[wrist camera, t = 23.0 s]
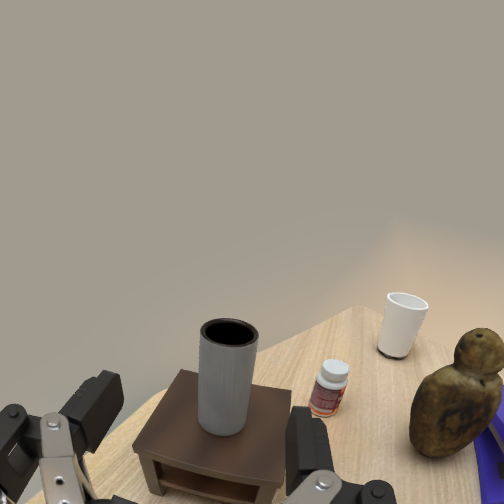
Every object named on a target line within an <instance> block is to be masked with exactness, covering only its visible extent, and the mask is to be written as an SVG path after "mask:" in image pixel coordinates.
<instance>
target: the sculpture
mask: <svg viewBox="0 0 504 504" xmlns="http://www.w3.org/2000/svg"><path fill="white" fill-rule="evenodd" d="M503 368H504V343H503V341H502V339H501V338H500V337H499V335H498V334H497V333H495V332H494V331H492V330H490V329H488V328H476V329H474V330H471V331H469V332H467V333H465V334H464V335H463V336H462V337H461V339H460V340H459V342H458V344H457V345H456V348H455V352H454V363H453V364H451V365H447V366H445V367H442V368H441V369H439V370H437V371H435V372H434V373H433V374H430V375H428V376H427V377H425V378H424V380H423V381H422V383H421V384H420V386H419V388H418V390H417V392H416V394H415V397H414V400H413V403H412V407H411V413H410V425H409V436H410V441H411V443H412V445H413V446H414V448H415V449H416V450H418V451H419V452H420V453H421V454H423V455H426V456H429V457H443V456H448V455H451V454H453V453H455V452H457V451H459V450H461V449H462V448H464V447H465V446H467V445H468V444H469V443H471V442H472V441H473V440H474V439H476V438H477V437H478V436H479V435H480V434H481V433H482V432H483V431H484V430H485V429H486V428H487V426H488V425H489V424H490V422H491V421H492V419H493V418H494V416H495V414H496V412H497V411H498V408H499V406H500V404H501V400H502V387H503V380H502V378H501V377H500V376H499V375H498V374H497V373H498V372H499V371H501V370H502V369H503Z"/></svg>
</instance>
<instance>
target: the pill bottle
mask: <svg viewBox="0 0 504 504" xmlns="http://www.w3.org/2000/svg"><path fill="white" fill-rule="evenodd" d="M348 373H349V366H348V365H347V364H346V363H345V362H343V361H340V360H336V359H329V360H326V361H325V362H324V363H323V365H322V368H321V371H320V372H319V373H318V374H317V377H316V380H315V384H314V387H313V390H312V394H311V397H310V400H309V404H308V407H310V409H311V412H312V413H314V414H315V415H318V416H322V417H328V416H332V415H334V414H335V413H336V411H337V409H338V407H339V404H340V402H341V399H342V397H343V394H344V391H345V388H346V386H347V382H348V380H347V376H348Z"/></svg>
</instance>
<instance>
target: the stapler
mask: <svg viewBox="0 0 504 504" xmlns="http://www.w3.org/2000/svg"><path fill="white" fill-rule="evenodd" d="M474 445H475V451H476V457H477V463H478V470H479V478H480V487H481V499H482V504H504V385H503V387H502V400H501V404H500V406H499V408H498V411H497V412H496V414H495V416H494V418H493V419H492V421H491V422H490V424H489V425H488V426H487V428H486V429H485V430H484V431H483V432H482V433H481V434H480V435H479V436H478V437H477V438H476V439H474Z"/></svg>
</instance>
